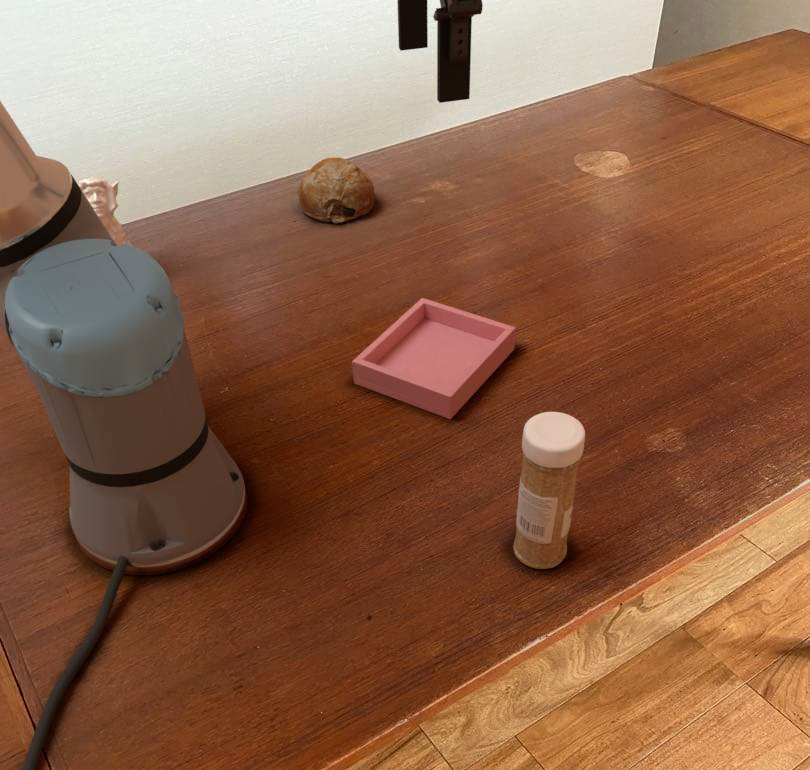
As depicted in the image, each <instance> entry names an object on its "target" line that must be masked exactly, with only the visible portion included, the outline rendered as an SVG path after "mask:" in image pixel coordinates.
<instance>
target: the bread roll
mask: <svg viewBox="0 0 810 770" xmlns="http://www.w3.org/2000/svg"><path fill="white" fill-rule="evenodd" d="M297 194H298V195H297V196H298V204H299V207H300V210H301V211H302V212H303V213H305V214H306V215H307V216H308V217H311V218H313V219H314V220H317V221H319V222H322V223H333V224H335V225H338V224H341V223H343V222H348V221H350V220H351V221H352V220H355V219H357V218H358V217H361V216H365V215H367V214H369V213H370V212H371V210H372V209H373V206H374V204H375V199H376V195H375V187H374V182H373V180H372V178H371V177H370V175H369V174H368V173H367V172H366V171H365V170H364V169H363V168H362V167H361V166H359V165H357V164H355V163H354V162H353V161H351V160H349V159H345V158H343V157H327V158H324V159H322V160H320V161H318V162H317V163H316V164H314V165H313V166H312V167H310V169H309V170H308V172H307V173H306V174H305V175H304V176H303V177H302V178H301V179H300V182H299V183H298V189H297Z"/></svg>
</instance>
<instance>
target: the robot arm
mask: <svg viewBox="0 0 810 770" xmlns="http://www.w3.org/2000/svg"><path fill="white" fill-rule="evenodd" d="M439 5H440V7H437V8H435V9H436V10H435V11H434V13H433V15H432V16H433V17H432V18H433V20H434V22H437V27H436V29H437V31H436V32H437V33H436V35H437V38H436V39H437V40H436V41H437V43H436V45H437V48H436V50H437V51H436V52H437V53H436V56H437V57H436V58H437V59H436V62H437V63H436V64H437V65H436V67H437V68H436V75H437V76H436V77H437V78H436V79H437V80H436V97H437V99H436V100H437V101H438V103H439V104H441V103H449V102H457V101H464V100H470V97H471V96H470V91H471V57H472V55H471V53H472V26H473V25H472V23H473V22H472V21H473V20H472V19H473V17H474V16H476V15H481V14H482V12H483V1H482V0H439ZM397 29H398V31H397V33H398V49H399V50H400V52H401V51H409V50H410V51H411V50H418V49H426V48H428V44H429V43H428V0H397ZM78 184H79V183H78V182H77V180H75V177H74V176H73V174H72V172H71V171H70V170H69V169H68V167H67V165H65V164H64V163H62V162H61V161H59V160H56V159H53V158H49V157H45V156H40V155H37V154H36V153H35V151H34V150H33V148H32V147H31V145H30V144H29V141H27V139H26V137H25V136H24V135H23V133H22V132H21V130H20V129H19V127H18V126H17V124H16V122H15V120H14V119H13V117H12V116H11V115H10V114H9V112H8V110H7V109H6V107H5V106H4V104H3V103H2V101H1V100H0V325H1V326H2V328H3V330H4V332H5V334H6V336H7V338H8V339H9V341H10V344H11V346H12V347H13V349H14V350H15V353H16V354H17V356H18V359H19V360H20V361H21V363H22V366H23V367H24V369H25V371H26V373H27V374H28V377H29V378H30V380H31V382H32V384H33V386H34V388H35V390H36V393H37V394H38V396H39V398H40V401H41V403H42V405H43V408H44V410H45V413H46V414H47V417H48V420H49V422H50V424H51V426H52V429H53V431H54V433H55V435H56V438H57V440H58V443H59V446H60V448H61V450H62V452H63V454H64V457H65V459H66V461H67V463H68V466H69V505H68V516H69V522H70V527H71V530H72V532H73V534H74V537H75V539H76V541H77V544H78V545H79V547H80V549H81V551H82V552H83V554H85V555H86V557H88V558H89V559H90V560H91V561H92V562H94V563H96V564H97V565H99V566H100V567H102V568H105V569H106V570H109V571H112V574H111V577H110V579H109V582H108V585H107V588H106V590H105V593H104V595H103V596H104V597H103V599H102V602H101V604H100V608H99V611H98V614H97V617H96V618H95V620H94V623H93V625H92V627H91V628H90V630H89V632H88V633H87V635H86V637H85V639H84V641H83V642H82V643H81V645H80V647H79V648H78V650H77V651H76V653H74V655H73V657H72V659H71V660H70V661H69V663H68V664H67V666H66V667H65V668H64V670H63V672H62V673H61V675H60V677H59V678H58V680H57V681H56V683H55V685H54V687H53V689H52V691H51V693H50V695H49V697H48V699H47V700H46V703H45V705H44V708H43V710H42V712H41V713H40V714H41V715H40V717H39V719H38V721H37V724H36V727H35V730H34V733H33V736H32V739H31V742H30V745H29V747H28V750H27V753H26V755H25V759H24V763H23V764H22V765H23V766H22V767H21V770H37V769H36V768H37V765H38V763H39V759H40V757H41V753H42V750H43V748H44V745H45V742H46V738H47V736H48V733H49V729H50V727H51V725H52V722H53V719H54V717H55V714H56V712H57V709H58V707H59V706H60V703H61V701H62V699H63V697H64V695H65V693H66V692H67V689H68V688H69V686H70V684H71V683H72V682H73V679H74V678H75V676H76V675H77V673H78V672H79V670H80V669H81V667H82V666H83V664H84V663H85V661H86V660H87V658H88V657H89V656H90V654H91V653H92V650H93V649H94V648H95V646H96V644H97V642H98V640H99V639H100V637H101V635H102V633H103V631H104V629H105V627H106V624H107V623H108V620H109V618H110V615H111V612H112V609H113V606H114V603H115V600H116V596H117V594H118V592H119V588H120V586H121V583H122V580H123V577H124V575H130V576H131V575H133V576H153V575H161V574H167V573H173V572H176V571H179V570H182V569H186V568H188V567H190V566H193V565H195V564H197V563H200V562H202V561H203V560H205V559H207V558H209V557H210V556H212V555H213V554H215V553H216V552H218V551H219V550H221V548H223V547H224V546H225V545H226V544H227V543H228V542H229V541H230V540H231V539H232V538H233V537H234V535H235V534H236V533H237V532H238V530H239V528H240V527H241V525H242V523H243V522H244V520H245V516H246V513H247V509H248V495H247V494H248V493H247V490H246V485H245V480H244V477H243V474H242V472H241V470H240V469H239V467H238V465H237V463H236V462H235V460H234V459H233V457H232V456H231V455H230V453H229V452H228V451H227V450H226V448H225V446H224V445H223V444H222V442H221V441H220V440H219V439H218V437H217V436H216V434H215V433H214V432H213V431H212V429H211V428H210V426H209V423H208V418H207V415H206V412H205V406H204V402H203V399H202V394H201V391H200V385H199V382H198V379H197V374H196V371H195V366H194V363H193V358H192V354H191V351H190V347H189V346H190V345H189V342H188V338H187V335H186V330H185V325H184V323H185V319H184V318H185V317H184V313H183V310H182V307H181V302H180V301H179V298H178V296H177V294H176V291H175V290H174V289H173V286H172V282H171V279H170V278H169V276H168V274H167V273H166V271H165V269H164V268H163V266H162V265H161V264H160V263H159V262H158V261H157V260H156V259H154V257H152V256H151V255H150V254H148V253H147V252H145V251H144V250H143V249H141V248H139V247H136V246H134V245H132V246H131V245H128V244H122V245H120V246H117V245H116V243H115V242H114V240H113V239H112V237H111V236H110V234H109V233H108V231H107V230H106V228H105V226H104V225H103V223H102V222H101V220H100V219H99V217H98V215H97V214H96V212H95V211H94V209H93V207H92V206H91V204H90V203H89V201H88V200H87V198H86V197H85V195H84V193H83V192H82V190H81V189H80V187H79V185H78Z"/></svg>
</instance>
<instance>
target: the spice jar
mask: <svg viewBox="0 0 810 770" xmlns="http://www.w3.org/2000/svg"><path fill="white" fill-rule="evenodd" d="M521 437H522V440H521V450H522V453H523V456H522V461H521V462H522V463H521V472H520V477H519V485H518V497H517V509H516V518H515V524H516V528H515V529H516V530H515V538H514V541H513V546H512V547H513V554H514V555H515V557H516V559H517V560H518V561H519V562H521V563H522V564H524V565H525V566H526V567H529V568H532V569H537V570H546V569H547V570H548V569H552V568H553V569H554V568H555V567H556V566H559V565H560V564H561V563H562V562H563V561H564V559H565V558H566V556H567V553H568V545H567V543H568V537H569V531H570V526H571V521H572V516H573V508H574V500H575V494H576V482H577V476H578V469H579V463H580V460H581V457H582V456H583V454H584V449H585V443H586V442H585V441H586V430H585V427H584V426H583V424H582V423H581V422H580V421H579V419H577V418H576V417H574V416H572V415H570V414H567V413H564V412H559V411H546V412H540V413H538V414H535V415H533V416H532V417H530V418H529V419H528V420H527V421H526V422H525V423H524V426H523V431H522V436H521Z"/></svg>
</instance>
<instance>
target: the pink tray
mask: <svg viewBox="0 0 810 770" xmlns="http://www.w3.org/2000/svg"><path fill="white" fill-rule="evenodd" d="M516 329H517V327H515V326H513V325H509V324H506V323H503V322H500V321H497V320H493V319H491V318H488V317H484V316H481V315H478V314H474V313H472V312H468V311H466V310H462V309H459V308H456V307H453V306H450V305H446V304H443V303H440V302H438V301H437V302H436V301H434V300H431V299H429V298H428V299H427V298H424V297H421V298H420V299H419V300H418V301H417V302H415V304H413V305H412V306H411V307H410V308H409V309H408V310H406V312H405V313H404V314H402V315H401V316H400V317H399V318H398V319H397V320H395V322H394V323H393V324H391V325H390V326H389V327H388V328H387V329H386V330H384V331H383V332H382V333H381V334H380V335H379V336H378V337H377V338H376V339H374V340H373V342H372V343H371V344H369V345H368V346H367V347H366V348H365V349H364V350H363V351H361V353H359V354H358V355H357V356H356V357H355V358H354V359H353V360H352V361H351V363H352V374H353V375H352V376H353V384H354V385H356V386H357V385H358V386H359V387H363V388H365V389H368V390H370V391H373V392H375V393H376V392H377V393H379V394H382V395H384V396H387V397H389V398H392V399H395V400H397V401H400V402H403V403H405V404H408V405H410V406H413V407H416V408H418V409H422V410H424V411H427V412H430V413H432V414H435V415H437V416H440V417H443V418H446V419H448V420H452V418H453V417H454V416H455V415H457V413H458V412H459V411H460V410H461V409H462V408H463V406H464V405H466V403H467V402H468V401H469V400H470V399H471V397H472V396H474V394H475V393H476V392H477V391H478V390H479V389H480V388H481V387H482V386H483V385H484V383H485V382H486V381H488V379H489V378H490V377H491V376H492V375H493V373H494V372H496V370H497V369H498V368H499V367H500V366H501V365H502V364H503V363H504V361H506V359H507V358H509V356H510V354H511V353H512V352H513V351H514V350H515V346H516V345H515V342H516Z"/></svg>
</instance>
